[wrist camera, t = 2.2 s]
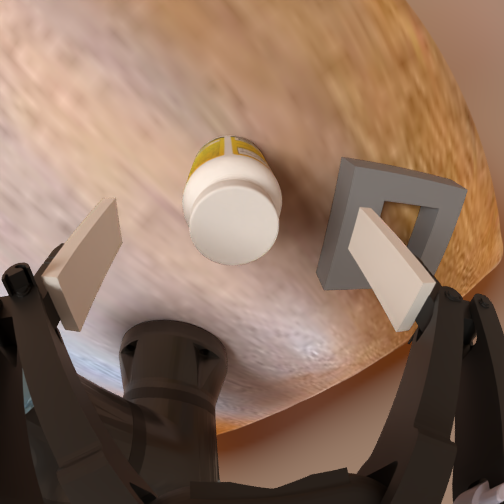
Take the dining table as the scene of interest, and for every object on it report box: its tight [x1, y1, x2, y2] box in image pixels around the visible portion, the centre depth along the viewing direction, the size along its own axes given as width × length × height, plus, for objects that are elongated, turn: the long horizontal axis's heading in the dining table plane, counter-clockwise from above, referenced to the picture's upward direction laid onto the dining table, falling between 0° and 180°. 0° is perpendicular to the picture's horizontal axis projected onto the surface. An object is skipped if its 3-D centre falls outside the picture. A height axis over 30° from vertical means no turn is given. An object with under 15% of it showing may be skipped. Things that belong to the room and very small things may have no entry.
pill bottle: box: [182, 135, 282, 265], centre depth 19 cm, size 6×6×11 cm
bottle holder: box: [316, 157, 467, 290], centre depth 27 cm, size 13×15×3 cm
